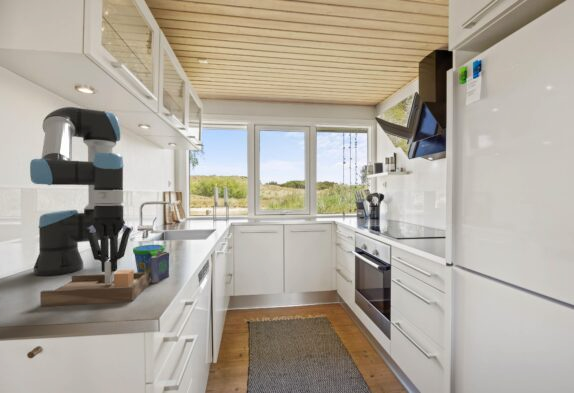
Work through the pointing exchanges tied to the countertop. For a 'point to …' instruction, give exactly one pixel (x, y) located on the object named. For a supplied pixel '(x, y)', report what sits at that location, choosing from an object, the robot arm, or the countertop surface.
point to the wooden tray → (93, 291)
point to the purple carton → (159, 266)
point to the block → (123, 278)
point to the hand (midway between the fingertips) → (109, 282)
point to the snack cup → (145, 256)
